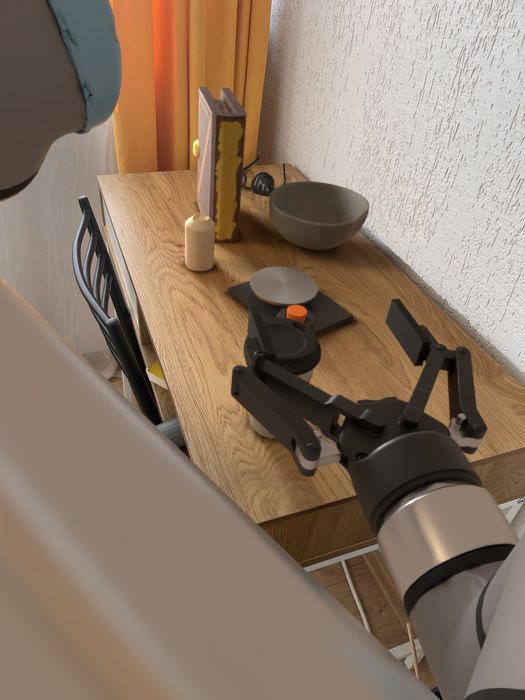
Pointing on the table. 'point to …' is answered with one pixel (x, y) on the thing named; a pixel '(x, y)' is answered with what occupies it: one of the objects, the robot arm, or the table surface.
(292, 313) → the tare button
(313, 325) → the scale
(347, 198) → the bowl
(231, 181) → the book
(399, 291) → the table surface
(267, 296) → the scale pan
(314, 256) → the table surface
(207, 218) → the candle
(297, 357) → the coffee cup
